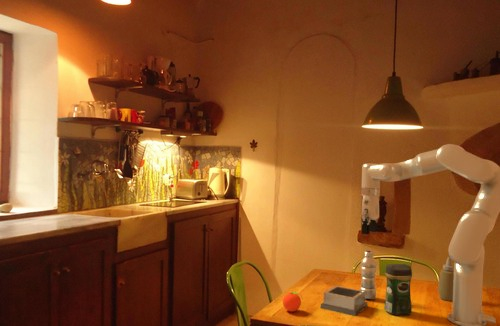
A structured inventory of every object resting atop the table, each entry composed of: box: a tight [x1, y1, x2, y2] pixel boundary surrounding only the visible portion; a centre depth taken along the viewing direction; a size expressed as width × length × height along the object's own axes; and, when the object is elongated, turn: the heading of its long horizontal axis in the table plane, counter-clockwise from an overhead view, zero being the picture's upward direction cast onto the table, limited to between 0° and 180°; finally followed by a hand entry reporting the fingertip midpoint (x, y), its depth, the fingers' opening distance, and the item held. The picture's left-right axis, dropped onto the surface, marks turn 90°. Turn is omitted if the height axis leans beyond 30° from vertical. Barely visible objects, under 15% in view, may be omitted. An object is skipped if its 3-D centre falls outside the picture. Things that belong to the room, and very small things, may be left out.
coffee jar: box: [384, 263, 413, 316], centre depth 163 cm, size 10×8×19 cm
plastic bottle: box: [359, 250, 378, 300], centre depth 179 cm, size 6×7×20 cm
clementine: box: [282, 292, 303, 313], centre depth 161 cm, size 8×7×7 cm
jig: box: [320, 285, 368, 317], centre depth 167 cm, size 14×14×6 cm
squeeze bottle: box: [437, 256, 454, 302], centre depth 182 cm, size 8×8×18 cm
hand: (369, 232), depth 180 cm, fingers open, 9 cm apart
